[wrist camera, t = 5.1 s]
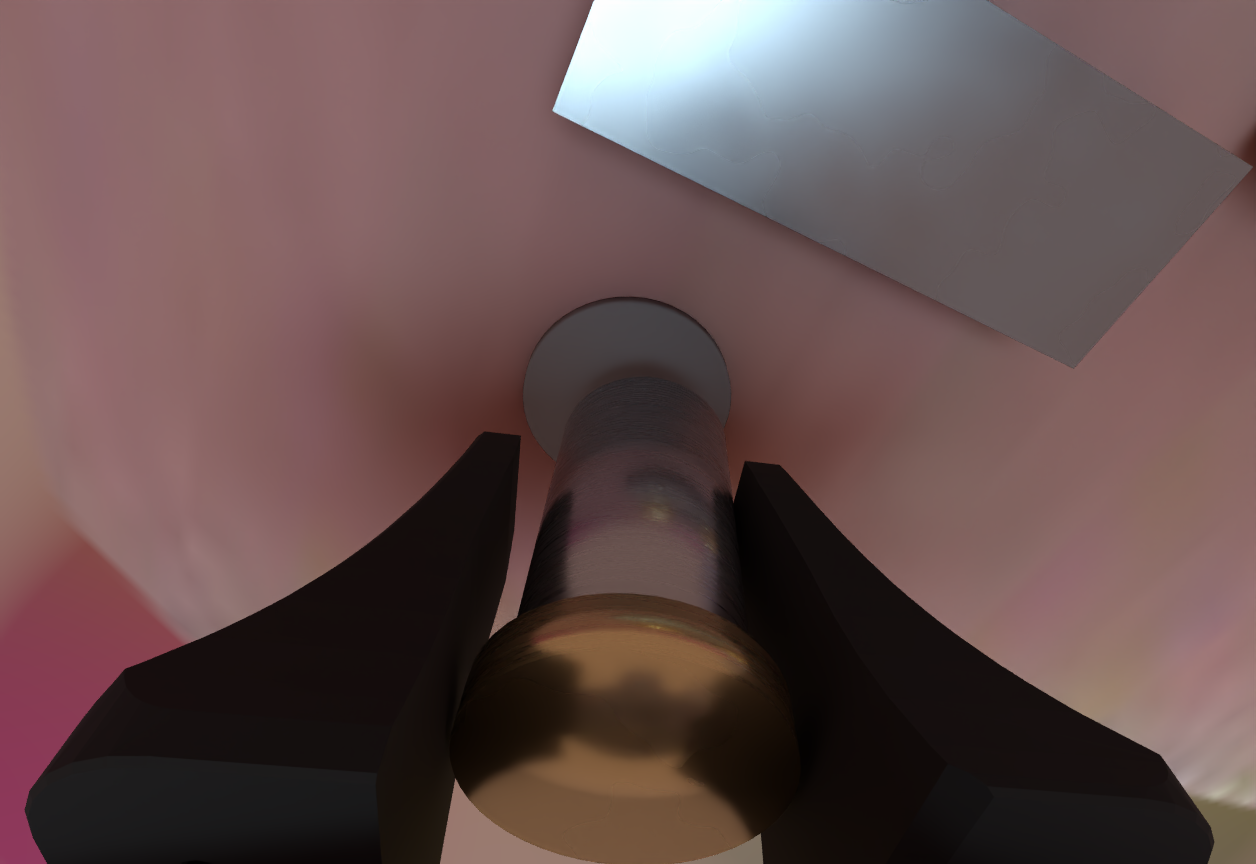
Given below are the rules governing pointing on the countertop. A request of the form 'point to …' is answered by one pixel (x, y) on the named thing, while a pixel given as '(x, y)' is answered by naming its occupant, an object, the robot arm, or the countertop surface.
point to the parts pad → (618, 360)
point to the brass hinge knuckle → (913, 147)
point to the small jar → (631, 653)
